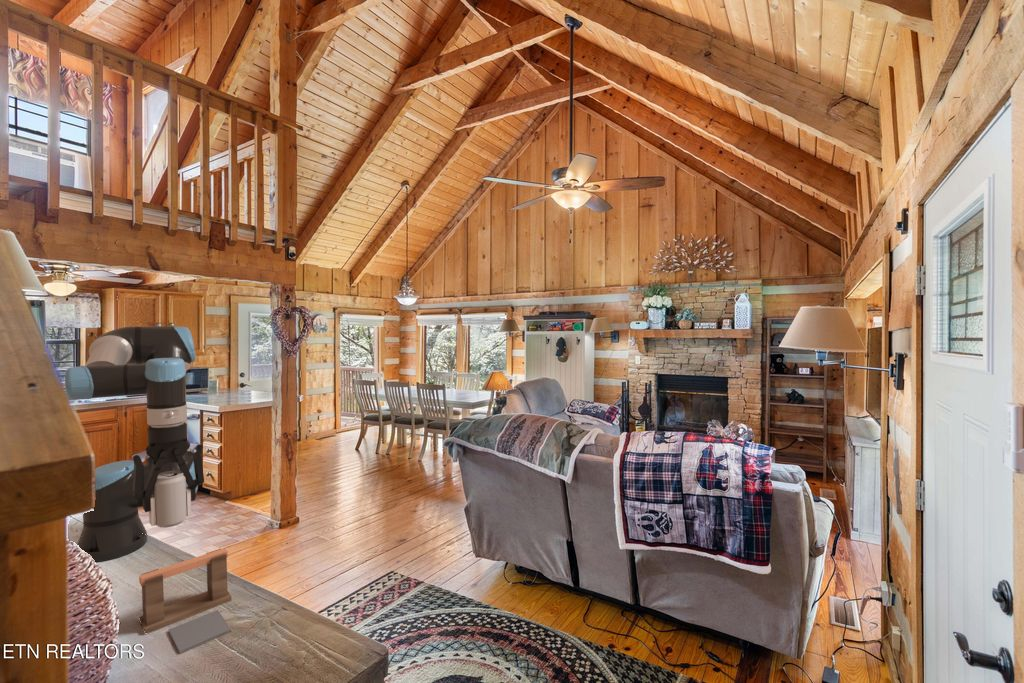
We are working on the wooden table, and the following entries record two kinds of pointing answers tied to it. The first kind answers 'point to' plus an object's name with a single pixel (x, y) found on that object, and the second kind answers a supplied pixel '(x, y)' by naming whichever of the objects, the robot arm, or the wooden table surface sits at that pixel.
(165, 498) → the beverage can
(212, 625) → the rubber mat
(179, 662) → the wooden table surface
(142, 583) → the crossbar
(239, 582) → the wooden table surface
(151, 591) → the walnut stand
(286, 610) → the wooden table surface
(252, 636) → the wooden table surface
